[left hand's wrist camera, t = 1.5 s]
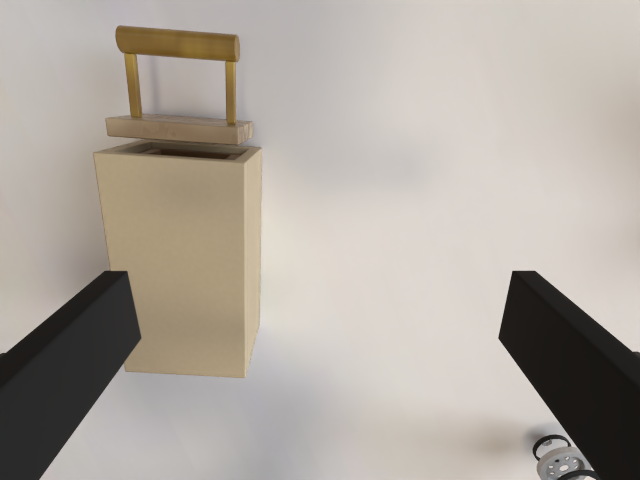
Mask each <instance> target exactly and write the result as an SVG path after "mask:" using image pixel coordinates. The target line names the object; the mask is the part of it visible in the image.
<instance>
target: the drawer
mask: <svg viewBox="0 0 640 480" xmlns="http://www.w3.org/2000/svg"><path fill="white" fill-rule="evenodd" d="M116 42H117V45H118V48H119V50H120V51H121V52H122V53H125V54H124V55H125V64H126V74H127V83H128V92H129V102H130V111H131V115H129V116H119V117H110V118H106V126H107V134H108V136H114V137H128V138H142V139H156V140H170V141H184V142H198V143H212V144H226V145H239V144H241V143H243V142H244V141H246V140H248V139H249V138H251V137H252V136H253V122H250V121H236V64H235V62H238V61H239V56H240V44H239V38H238V36H237V35H233V34H221V33H208V32H195V31H183V30H170V29H157V28H145V27H132V26H118V27H117V29H116ZM136 54H139V55H152V56H165V57H178V58H191V59H204V60H217V61H226V62H225V66H226V117H227V120H223V119H209V118H195V117H182V116H168V115H154V114H142V107H141V97H140V87H139V76H138V66H137V56H136ZM138 154H152V155H167V156H181V157H195V158H209V159H223V160H236V159H237V158H238V157H239V156H241V155H242V154H237V153H223V152H209V151H195V150H181V149H167V148H154V149H150V150H147V151H144V152H141V153H138Z"/></svg>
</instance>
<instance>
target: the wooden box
mask: <svg viewBox="0 0 640 480" xmlns="http://www.w3.org/2000/svg"><path fill="white" fill-rule="evenodd" d="M154 148H167V149H181V150H195V151H209V152H223V153H237V154H242V155H241V156H239V157H238V158H237V159H236V160H223V159H209V158H195V157H181V156H167V155H152V154H138V153H141V152H144V151H147V150H150V149H154ZM93 155H94V162H95V169H96V175H97V182H98V189H99V196H100V203H101V209H102V216H103V223H104V230H105V237H106V243H107V250H108V257H109V264H110V270H111V271H128V276H129V281H130V285H131V290H132V295H133V300H134V304H135V309H136V314H137V318H138V323H139V328H140V333H141V337H142V338H141V340H140V341H139V343H138V344H137V345H136V347H135V348H134V350H133V351H132V352H131V354H130V355H129V356H128V358H127V359H126V361H125V362H124V366H125V371H126V372H145V373H163V374H181V375H199V376H217V377H236V378H245V377H246V374H247V370H248V366H249V362H250V359H251V355H252V351H253V347H254V343H255V340H256V336H257V332H258V328H259V319H260V244H261V170H262V148H257V147H243V146H229V145H215V144H201V143H187V142H173V141H159V140H141V141H137V142H133V143H129V144H125V145H121V146H118V147H114V148H110V149H106V150H102V151H98V152H94V153H93Z"/></svg>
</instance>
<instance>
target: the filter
mask: <svg viewBox="0 0 640 480" xmlns="http://www.w3.org/2000/svg"><path fill="white" fill-rule="evenodd" d="M552 439H562V440H565V441H566V442H567V443H568V447H561V448H557V449H554V450H551V451H549V452H548V453H546V454H545V455H544V456H543V457H542V458H541V459H540V458H539V457H537V456H536V451H537V449H538V447H539V446H540V445H541V444H542V445H545V446H548V445H550V444H552ZM548 440H550V441H549V442H547V443H544V442H546V441H548ZM533 454H534V456H535V458H536V459H537V460H538V461H539V462H538V464H537V472H538V475H539V476H540V478H541V480H583V479H584V478H585V477H586V476H590V477H592V478H594V479H596V480H601V479H600V478H599V476H598V475H597V474H596V472H595V471H592V470H591V465H590V464H589V463H588V461H587V460H586V458H585V457H584V456H583V454H582V453H581V452H580V450H579V449H578V448H575V447H571V444H570V443H569V441H568V440H567V439H566V438H565V437H563V436H561V435H549V436H545V437H543V438H541V439H540V440H538V441H537V442H536V443H535V445H534V447H533ZM566 457H569V459H568V460H566V459H565V458H566ZM574 460H577V461H576V462H575V463H573V461H574ZM563 465H568V466H569V468H568V469H567V470H565V471H561V470H559V469H560V467H561V466H563ZM549 466H553V468H549ZM576 466H578V467H577V468H576V469H574V468H575V467H576ZM552 472H553V473H554V474H553V475H552V474H550V473H552ZM560 475H562V476H561V477H558V476H560Z"/></svg>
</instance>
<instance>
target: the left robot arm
mask: <svg viewBox="0 0 640 480" xmlns="http://www.w3.org/2000/svg"><path fill="white" fill-rule="evenodd" d="M141 338H142V337H141V333H140V328H139V323H138V318H137V314H136V309H135V304H134V300H133V295H132V290H131V285H130V281H129V276H128V271H104V272H103V273H102V274H101V275H99V276H98V277H97V278H96V279H95V280H93V281H92V282H91V283H90V284H89V285H87V286H86V287H85V288H84V289H83V290H81V291H80V292H79V293H78V294H76V295H75V296H74V297H73V298H72V299H70V300H69V301H68V302H67V303H66V304H64V305H63V306H62V307H61V308H60V309H58V310H57V311H56V312H55V313H54V314H52V315H51V316H50V317H49V318H48V319H46V320H45V321H44V322H43V323H42V324H40V325H39V326H38V327H37V328H36V329H34V330H33V331H32V332H31V333H30V334H28V335H27V336H26V337H25V338H24V339H22V340H21V341H20V342H19V343H17V344H16V345H15V346H14V347H13V348H11V349H10V350H9V351H8V352H7V353H2V354H0V480H39V479H40V478H41V476H42V475H43V474H44V472H45V471H46V469H47V468H48V467H49V465H50V464H51V463H52V461H53V460H54V458H55V457H56V456H57V454H58V453H59V452H60V450H61V449H62V447H63V446H64V445H65V443H66V442H67V441H68V439H69V438H70V436H71V435H72V434H73V432H74V431H75V430H76V428H77V427H78V425H79V424H80V423H81V421H82V420H83V418H84V417H85V416H86V414H87V413H88V412H89V410H90V409H91V407H92V406H93V405H94V403H95V402H96V401H97V399H98V398H99V396H100V395H101V394H102V392H103V391H104V390H105V388H106V387H107V385H108V384H109V383H110V381H111V380H112V378H113V377H114V376H115V374H116V373H117V372H118V370H119V369H120V367H121V366H122V365H123V363H124V362H125V361H126V359H127V358H128V356H129V355H130V354H131V352H132V351H133V350H134V348H135V347H136V345H137V344H138V343H139V341H140V340H141ZM498 338H499V340H500V341H501V343H502V344H503V345H504V347H505V348H506V350H507V351H508V352H509V354H510V355H511V356H512V358H513V359H514V361H515V362H516V363H517V365H518V366H519V367H520V369H521V370H522V372H523V373H524V374H525V376H526V377H527V378H528V380H529V381H530V383H531V384H532V385H533V387H534V388H535V390H536V391H537V392H538V394H539V395H540V396H541V398H542V399H543V401H544V402H545V403H546V405H547V406H548V407H549V409H550V410H551V412H552V413H553V414H554V416H555V417H556V418H557V420H558V421H559V423H560V424H561V425H562V427H563V428H564V430H565V431H566V432H567V434H568V435H569V436H570V438H571V439H572V441H573V442H574V443H575V445H576V446H577V447H578V449H579V450H580V452H581V453H582V454H583V456H584V457H585V458H586V460H587V461H588V463H589V464H590V465H591V467H592V468H593V470H594V471H595V472H596V474H597V475H598V476H599V478H600V479H601V480H640V353H639V352H632V351H631V350H630V349H629V348H627V347H626V346H625V345H624V344H623V343H621V342H620V341H619V340H618V339H616V338H615V337H614V336H613V335H612V334H610V333H609V332H608V331H607V330H606V329H604V328H603V327H602V326H601V325H600V324H598V323H597V322H596V321H595V320H594V319H592V318H591V317H590V316H589V315H588V314H586V313H585V312H584V311H583V310H582V309H580V308H579V307H578V306H577V305H576V304H574V303H573V302H572V301H571V300H570V299H568V298H567V297H566V296H565V295H564V294H562V293H561V292H560V291H559V290H557V289H556V288H555V287H554V286H553V285H551V284H550V283H549V282H548V281H547V280H545V279H544V278H543V277H542V276H541V275H539V274H538V273H537V272H536V271H512V276H511V281H510V285H509V290H508V295H507V300H506V304H505V309H504V314H503V318H502V323H501V328H500V333H499V337H498Z"/></svg>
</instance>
